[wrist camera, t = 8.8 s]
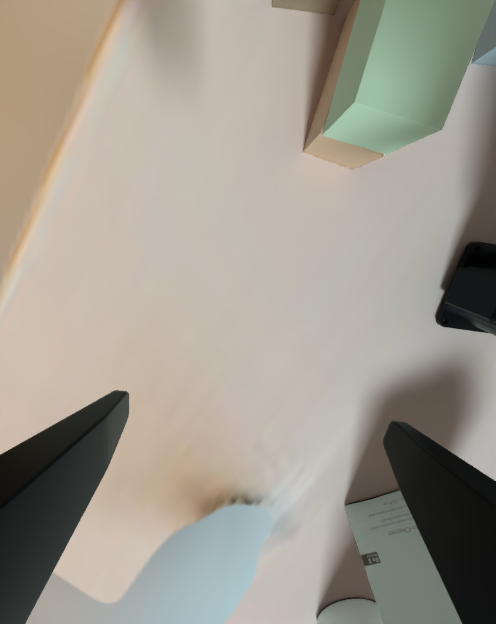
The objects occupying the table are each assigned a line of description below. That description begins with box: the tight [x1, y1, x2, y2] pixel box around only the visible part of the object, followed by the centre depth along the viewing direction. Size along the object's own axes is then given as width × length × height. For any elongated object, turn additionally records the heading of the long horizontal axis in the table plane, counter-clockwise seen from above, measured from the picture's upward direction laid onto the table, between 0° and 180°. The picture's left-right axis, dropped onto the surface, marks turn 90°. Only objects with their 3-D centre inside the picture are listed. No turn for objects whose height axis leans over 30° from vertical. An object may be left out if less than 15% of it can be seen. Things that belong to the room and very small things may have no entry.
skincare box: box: [345, 490, 462, 624], centre depth 21 cm, size 8×6×15 cm
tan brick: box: [303, 0, 384, 170], centre depth 14 cm, size 7×4×4 cm, turn 163°
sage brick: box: [322, 0, 495, 154], centre depth 10 cm, size 7×4×4 cm, turn 167°
